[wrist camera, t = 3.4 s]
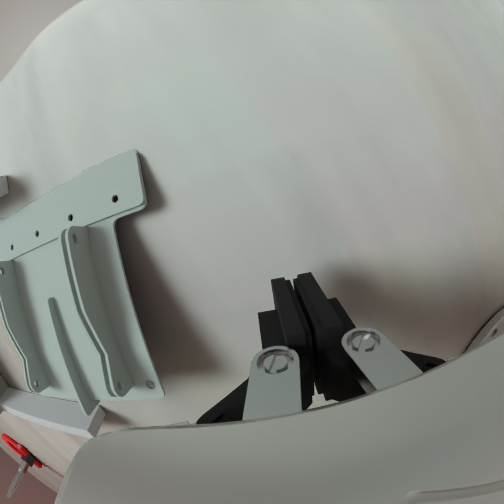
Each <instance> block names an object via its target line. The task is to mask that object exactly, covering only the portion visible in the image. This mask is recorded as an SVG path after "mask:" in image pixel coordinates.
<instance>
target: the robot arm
mask: <svg viewBox="0 0 504 504" xmlns="http://www.w3.org/2000/svg"><path fill="white" fill-rule="evenodd" d="M293 284H294V289H293V287H292V284H291V282H290V280H285V279H284V277H283V278H277V279H272V280H271V285H272V291H273V298H274V304H275V310H271V311H265V312H260V313H258V318H259V325H260V333H261V341H262V348H263V350H261V351H260V352H258V353H257V354H256V355H255V356H254V357H253V360H252V362H251V369H250V375H249V378H248V379H247V380H246V381H244V382H243V383H242V384H241V385H240V386H238V387H237V388H236V389H235V390H234V391H232V392H231V393H230V394H229V395H227V396H226V397H225V398H224V399H223V400H221V401H220V402H219V403H217V404H216V405H215V406H214V407H212V408H211V409H210V410H209V411H207V412H206V413H205V414H203V415H202V416H201V417H200V418H199V419H198V421H197V422H196V423H191V424H190V423H189V421H185V422H180V423H175V424H170V425H165V426H149V427H136V428H129V429H122V430H117V431H113V432H109V433H105V434H102V435H99V436H96V437H94V438H92V439H90V440H88V441H87V442H85V443H84V444H83V445H82V446H81V448H80V449H79V450H78V452H77V453H76V455H75V456H74V458H73V460H72V461H71V463H70V465H69V467H68V469H67V471H66V474H65V476H64V478H63V481H62V483H61V486H60V489H59V492H58V494H57V497H56V501H55V503H54V504H504V308H502V309H501V310H500V311H499V312H498V313H497V314H496V315H495V316H494V317H493V318H492V319H491V320H490V321H489V322H488V323H487V324H486V325H485V326H484V328H483V329H482V330H481V331H480V332H479V334H478V335H477V336H476V338H475V339H474V340H473V341H472V343H471V344H470V346H469V347H468V349H467V350H466V351H465V353H464V354H462V355H459V356H455V357H451V358H448V359H447V362H446V361H444V360H443V359H439V358H436V357H431V356H426V355H421V354H416V353H412V352H407V351H403V350H399V349H398V348H397V347H396V346H395V345H394V344H393V343H392V342H391V341H390V340H389V339H388V338H387V337H386V336H385V335H384V334H383V333H381V332H380V331H378V330H376V329H374V328H369V327H359V328H356V327H355V325H354V324H353V322H352V321H351V319H350V318H349V316H348V315H347V313H346V312H345V310H344V309H343V307H342V306H341V304H340V303H339V301H338V300H337V298H331V299H327V298H326V296H325V294H324V293H323V291H322V289H321V288H320V286H319V285H318V283H317V281H316V280H315V278H314V277H313V275H312V273H311V272H309V273H304V274H299V275H298V276H297V278H296V279H293ZM314 383H315V386H316V389H317V392H318V394H322V393H323V394H324V397H325V400H326V401H328V400H332V399H333V400H336V401H339V402H337V403H333V404H329V405H325V406H321V407H317V408H312V409H308V410H307V408H308V407H309V406H310V405H311V404H312V396H313V395H314Z"/></svg>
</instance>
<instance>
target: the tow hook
mask: <svg viewBox="0 0 504 504" xmlns="http://www.w3.org/2000/svg"><path fill="white" fill-rule="evenodd" d="M2 438H3V440H4V441H5V442H6V443H7V444H8V445H9V446H10V447H11V448H12V449H13V450H14V451H15V452H16V453H17V454H19V455H20V456H21V459H22V460H23V461H22V463H21V464H20V466H19V468H18V472H17V474H16V476H15V477H14V479H13V481H12V483H11V485H10V487H9V489H10V490H9V492H8V494H7V497H8V498H9V499H10V498H11V495H12V493H13V492H15V490H16V488H17V486H18V484H19V482H20V480H21V478H22V476H23V474H25V473H26V471H27V469H28V467H29V466H31V467H32V466H33V464H34V465H36V466H37V467H38V468H41V467H42V464H41V463H40V462H39V461H38V460H37V459H36V458H35V457H34V456H33V455H32V454H31V453H30V452H29V451H27V450H26V449H25V448H24V447H23V446H22V444H17V443H16V442H15V441H14V440H12V439H11V438H10V437H8V436H7V435H5V434H3V435H2ZM13 445H14V446H15V447H16V448H15V447H14V446H13ZM18 449H19V450H20V451H21V452H22V453H21V452H20V451H19V450H18Z"/></svg>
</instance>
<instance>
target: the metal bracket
mask: <svg viewBox="0 0 504 504" xmlns="http://www.w3.org/2000/svg"><path fill="white" fill-rule="evenodd" d="M116 195H117V196H118V201H117V202H116V203H115V202H114V201H113V200H114V197H115V196H116ZM146 205H147V199H146V193H145V188H144V182H143V176H142V170H141V164H140V158H139V154H138V152H137V151H136V150H135V149H131V150H129V151H127V152H124V153H122V154H119V155H117V156H115V157H112V158H110V159H108V160H106V161H103V162H101V163H99V164H97V165H95V166H93V167H90V168H88V169H86V170H84V171H83V172H82V174H81V175H79V176H77V177H75V178H74V179H72V180H70V181H68V182H66V183H64V184H62V185H60V186H59V187H57V188H55V189H53V190H52V191H50V192H48V193H46V194H45V195H43V196H41V197H40V198H38V199H36V200H35V201H33V202H31V203H30V204H28V205H27V206H25V207H24V208H22V209H20V210H19V211H17V212H16V213H14V214H13V215H11V216H10V217H9V218H7V219H6V220H3V218H2V219H1V220H0V314H1V318H2V321H3V325H4V328H5V330H6V332H7V334H8V335H9V337H10V339H11V341H12V343H13V345H14V346H15V348H16V350H17V352H18V353H19V355H20V357H21V358H22V363H23V370H24V377H25V383H26V386H27V388H28V389H29V390H30V391H31V392H37V393H39V394H40V395H42V396H49V397H58V398H70V399H78V402H79V404H80V406H81V408H82V410H83V413H84V414H85V415H88V416H90V415H91V413H92V412H93V410H94V409H95V408H96V406H97V405H98V403H99V402H100V400H151V399H162V398H163V397H164V395H165V391H164V388H163V386H162V383H161V381H160V379H159V376H158V374H157V371H156V369H155V366H154V363H153V361H152V358H151V355H150V353H149V350H148V347H147V344H146V341H145V339H144V336H143V333H142V330H141V327H140V324H139V320H138V317H137V314H136V311H135V307H134V304H133V301H132V297H131V294H130V290H129V286H128V283H127V279H126V275H125V271H124V267H123V263H122V258H121V254H120V250H119V245H118V240H117V235H116V230H115V223H116V221H117V220H118V219H119V218H121V217H124V216H127V215H130V214H133V213H136V212H138V211H141V210H143V209H144V208H145V207H146ZM71 215H73V219H72V221H71V220H70V216H71ZM37 232H39V236H38V235H37ZM147 381H152V382H153V383H154V384H155V387H154V388H152V387H150V386H149V385H148V384H147Z"/></svg>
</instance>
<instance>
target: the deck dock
mask: <svg viewBox="0 0 504 504" xmlns="http://www.w3.org/2000/svg"><path fill="white" fill-rule="evenodd" d="M8 193H9V190H8V183H7V176H0V198H1V197H3V196H4V195H6V194H8ZM2 411H6V412H8V413H10V414H13V415H15V416H18V417H20V418H23V419H26V420H28V421H31V422H34V423H37V424H40V425H43V426H46V427H49V428H52V429H56V430H59V431H63V432H67V433H70V434H74V435H79V436H83V437H87V438H94V437H96V436H97V433H98V431H99V429H100V426H101V424H102V422H103V420H104V417H105V415H106V413H105V412H104V411H103V409H102V408H101V407H100V405H97V406H96V408H95V409H94V410H93V412H92V413H91V415H90V416H88V415H85V414H84V413H83V410H82V408H81V406H80V404H79V402H73V401H67V400H62V399H56V398H51V397H46V396H42V395H37V394H33V393H29V392H25V391H21V390H18V389H14V388H11V387H8V385H7V384H6V382H5V381H4V379H3V378H2V376H1V375H0V414H1V413H2Z"/></svg>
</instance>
